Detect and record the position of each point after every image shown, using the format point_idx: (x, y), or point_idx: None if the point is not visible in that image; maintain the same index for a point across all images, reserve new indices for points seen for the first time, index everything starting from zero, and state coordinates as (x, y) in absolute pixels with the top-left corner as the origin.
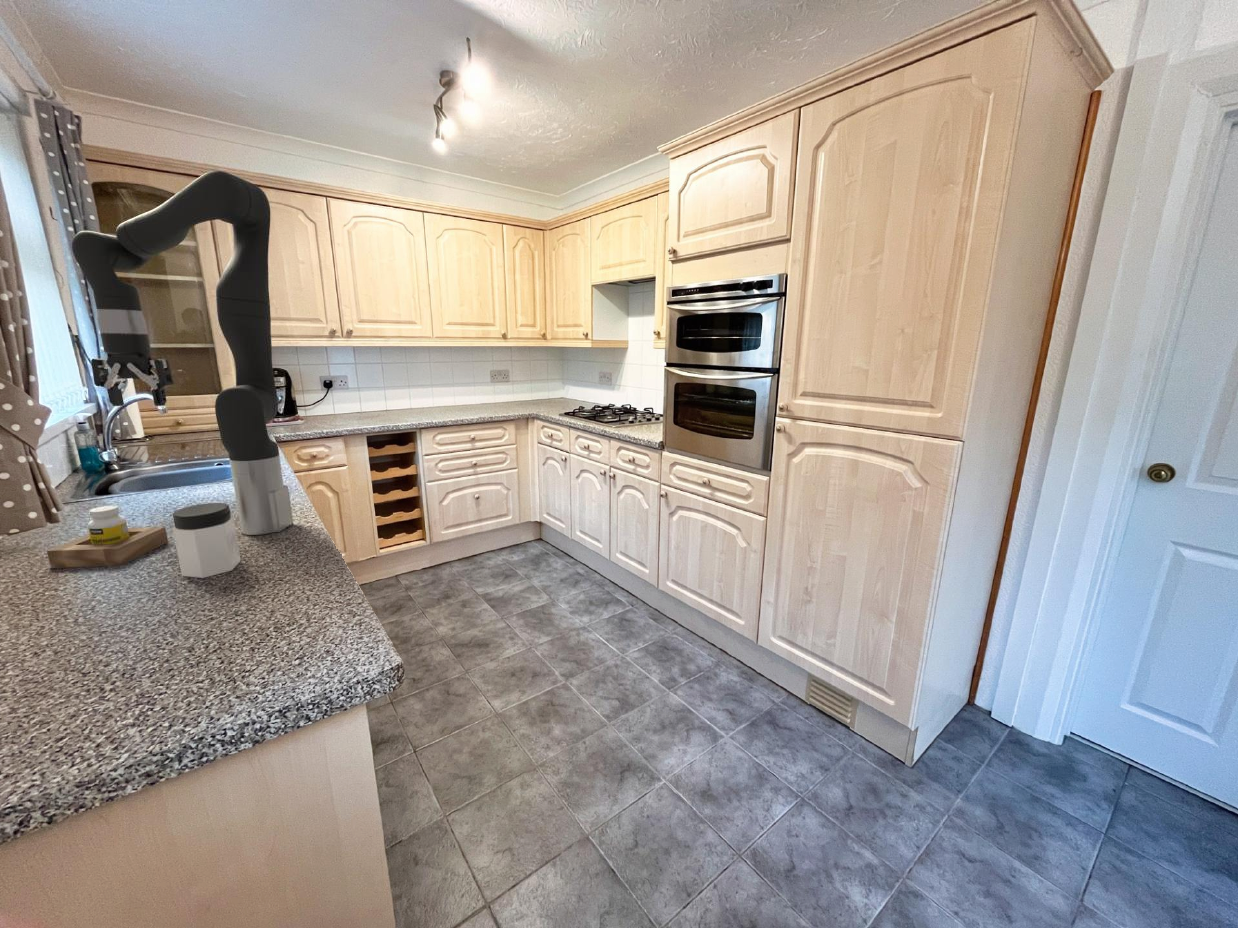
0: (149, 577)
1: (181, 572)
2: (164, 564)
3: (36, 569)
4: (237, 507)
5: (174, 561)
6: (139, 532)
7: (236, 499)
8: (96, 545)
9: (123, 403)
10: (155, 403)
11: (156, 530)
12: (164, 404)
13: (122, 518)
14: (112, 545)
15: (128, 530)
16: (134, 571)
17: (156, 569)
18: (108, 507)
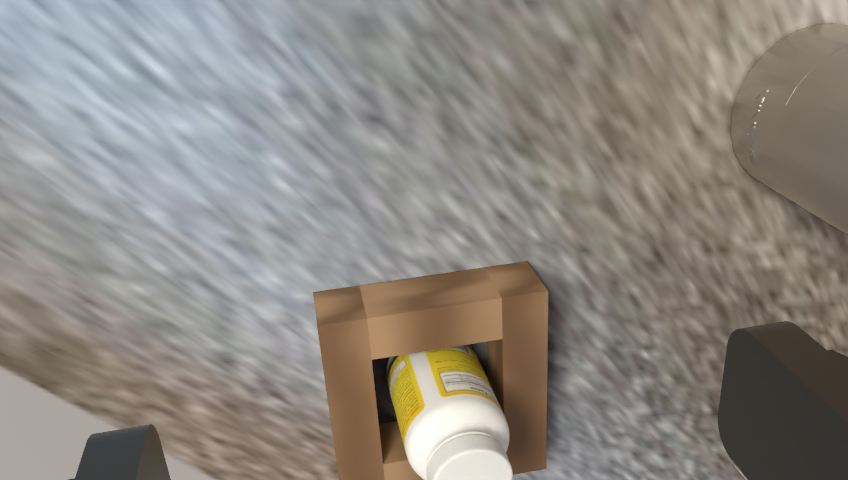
0: (657, 475)
1: (739, 471)
2: (641, 411)
3: (304, 475)
4: (808, 204)
5: (655, 392)
6: (489, 339)
7: (840, 227)
8: None
9: (151, 439)
10: (752, 462)
11: (546, 328)
12: (780, 330)
13: (505, 429)
14: (510, 452)
15: (441, 336)
16: (593, 454)
17: (642, 438)
18: (477, 470)
